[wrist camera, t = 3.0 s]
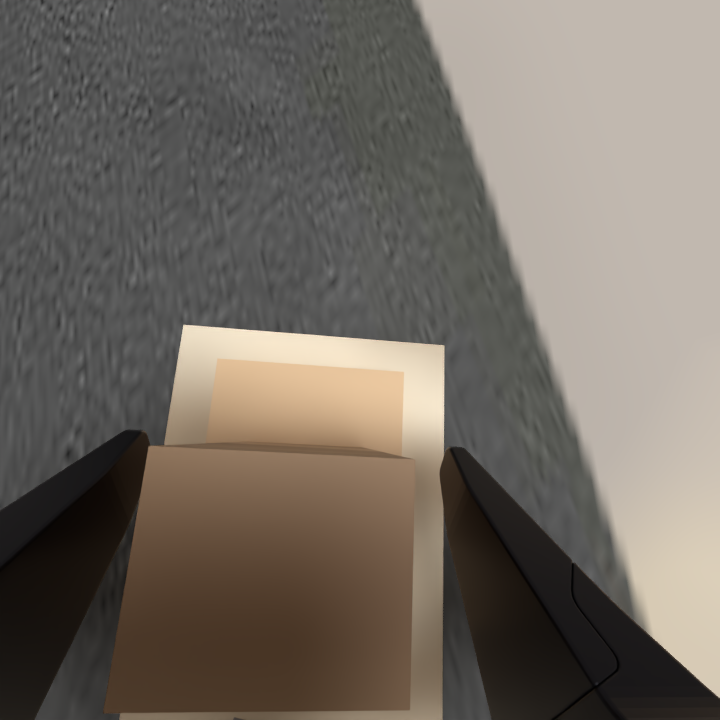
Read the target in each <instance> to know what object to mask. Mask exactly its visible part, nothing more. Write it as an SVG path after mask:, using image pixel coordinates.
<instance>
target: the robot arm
mask: <svg viewBox="0 0 720 720" xmlns="http://www.w3.org/2000/svg"><path fill="white" fill-rule="evenodd" d="M149 446H150V443H149V439H148V436H147V433H146V432H145V431H143V430H125V431H123V432H121V433H120V434H118V435H117V436H115V437H114V438H112V439H110V440H109V441H107V442H106V443H104V444H103V445H101V446H100V447H98V448H96V449H95V450H93V451H92V452H90V453H89V454H87V455H86V456H84V457H83V458H81V459H79V460H78V461H76V462H75V463H73V464H72V465H70V466H69V467H67V468H65V469H64V470H62V471H61V472H59V473H58V474H56V475H55V476H53V477H51V478H50V479H48V480H47V481H45V482H44V483H42V484H41V485H39V486H38V487H36V488H34V489H33V490H31V491H30V492H28V493H27V494H25V495H24V496H22V497H20V498H19V499H17V500H16V501H14V502H13V503H11V504H10V505H8V506H6V507H5V508H3V509H2V510H0V720H34V719H35V717H36V715H37V713H38V711H39V709H40V707H41V705H42V703H43V701H44V699H45V697H46V695H47V693H48V691H49V688H50V686H51V684H52V682H53V680H54V678H55V676H56V674H57V672H58V670H59V668H60V666H61V664H62V662H63V660H64V658H65V656H66V654H67V652H68V650H69V648H70V645H71V643H72V641H73V639H74V637H75V635H76V633H77V631H78V629H79V627H80V625H81V623H82V621H83V619H84V617H85V615H86V613H87V611H88V609H89V607H90V604H91V602H92V600H93V598H94V596H95V594H96V592H97V590H98V588H99V586H100V584H101V582H102V580H103V578H104V576H105V574H106V572H107V570H108V568H109V566H110V564H111V561H112V559H113V557H114V555H115V553H116V551H117V549H118V547H119V545H120V543H121V541H122V539H123V537H124V535H125V533H126V531H127V528H128V526H129V524H130V522H131V519H132V516H133V514H134V511H135V508H136V506H137V503H138V500H139V497H140V494H141V488H142V482H143V477H144V471H145V465H146V459H147V453H148V447H149ZM439 475H440V484H441V492H442V500H443V508H444V515H445V523H446V530H447V536H448V540H449V545H450V549H451V553H452V557H453V561H454V566H455V570H456V574H457V578H458V582H459V586H460V590H461V594H462V599H463V603H464V607H465V611H466V615H467V619H468V623H469V628H470V632H471V636H472V640H473V644H474V648H475V652H476V656H477V661H478V665H479V669H480V673H481V677H482V681H483V685H484V690H485V694H486V698H487V702H488V706H489V710H490V714H491V718H492V720H720V698H719V697H718V696H716V695H715V694H714V693H713V692H712V691H711V690H709V689H708V688H707V687H706V686H705V685H704V684H703V683H701V682H700V681H699V680H698V679H697V678H696V677H695V676H694V675H693V674H692V673H691V672H689V671H688V670H687V669H686V668H685V667H684V666H683V665H682V664H681V663H680V662H678V661H677V660H676V659H675V658H674V657H673V656H672V655H671V654H670V653H668V651H666V650H665V649H664V648H663V647H662V646H661V645H660V644H659V643H658V642H657V641H655V640H654V639H653V638H652V637H651V636H650V635H649V634H648V633H647V632H646V631H644V630H643V629H642V628H641V627H640V626H639V625H638V624H637V623H636V622H635V621H634V620H632V619H631V618H630V617H629V616H628V615H627V614H626V613H625V612H624V611H623V610H622V609H621V608H620V607H619V606H618V605H616V604H615V603H614V602H613V601H612V600H611V599H610V598H609V597H608V596H607V595H606V594H605V593H604V592H603V591H602V590H601V589H600V588H599V587H598V586H597V585H596V584H595V583H594V582H593V581H592V580H591V579H590V578H589V577H588V576H587V575H586V574H585V573H584V572H583V571H582V569H581V568H580V567H579V566H578V565H577V564H576V563H572V559H571V558H570V557H569V556H568V555H567V554H566V553H565V552H564V551H563V550H562V549H561V548H560V547H559V546H558V545H557V544H556V543H555V542H554V541H553V540H552V539H551V537H550V536H549V535H548V534H547V533H546V532H545V531H544V530H543V529H542V528H541V527H540V526H539V525H538V524H537V523H536V522H535V521H534V520H533V519H532V518H531V517H530V516H529V515H528V514H527V513H526V512H525V511H524V509H523V508H522V507H521V506H520V505H519V504H518V503H517V502H516V501H515V500H514V499H513V498H512V497H511V496H510V495H509V494H508V493H507V492H506V491H505V490H504V489H503V488H502V487H501V486H500V485H499V484H498V482H497V481H496V480H495V479H494V478H493V477H492V476H491V475H490V474H489V473H488V472H487V471H486V470H485V469H484V468H483V467H482V466H481V465H480V464H479V463H478V462H477V461H476V460H475V459H474V458H473V457H472V456H471V454H470V453H469V452H468V451H467V450H466V449H464V448H462V447H448V448H447V449H446V451H445V454H444V457H443V460H442V463H441V466H440V472H439Z"/></svg>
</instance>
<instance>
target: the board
mask: <svg viewBox="0 0 720 720" xmlns="http://www.w3.org/2000/svg"><path fill="white" fill-rule="evenodd" d="M217 358H218V359H232V360H246V361H260V362H274V363H288V364H302V365H315V366H329V367H343V368H357V369H371V370H385V371H399V372H404V390H403V425H402V457H407V458H411V459H415V501H414V549H413V597H412V644H411V692H410V710H405V711H298V712H192V713H120V718H119V720H442V686H443V500H442V492H441V484H440V475H439V472H440V466H441V463H442V460H443V457H444V345H432V344H419V343H406V342H394V341H381V340H368V339H356V338H343V337H330V336H318V335H305V334H293V333H280V332H267V331H255V330H242V329H229V328H217V327H204V326H191V325H184V326H183V332H182V338H181V344H180V350H179V356H178V363H177V369H176V375H175V381H174V387H173V393H172V399H171V405H170V412H169V418H168V424H167V430H166V436H165V442H164V445H179V444H201V443H206V437H207V430H208V423H209V415H210V408H211V401H212V394H213V387H214V380H215V372H216V365H217Z"/></svg>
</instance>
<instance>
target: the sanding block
mask: <svg viewBox="0 0 720 720" xmlns="http://www.w3.org/2000/svg"><path fill="white" fill-rule="evenodd" d="M403 390H404V372H399V371H385V370H371V369H357V368H343V367H329V366H315V365H302V364H288V363H274V362H260V361H246V360H232V359H218V358H217V365H216V372H215V380H214V387H213V394H212V401H211V408H210V415H209V423H208V430H207V437H206V443H201V444H179V445H158V446H149V447H148V453H147V459H146V465H145V471H144V477H143V482H142V488H141V494H140V500H139V506H138V512H137V517H136V523H135V529H134V535H133V541H132V547H131V552H130V558H129V564H128V570H127V576H126V582H125V587H124V593H123V599H122V605H121V611H120V616H119V622H118V628H117V634H116V640H115V646H114V651H113V657H112V663H111V669H110V675H109V681H108V686H107V692H106V698H105V704H104V710H103V713H192V712H298V711H405V710H410V692H411V644H412V597H413V549H414V501H415V459H411V458H407V457H402V425H403Z"/></svg>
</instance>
